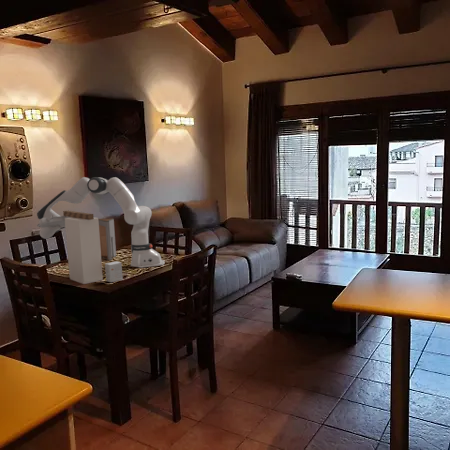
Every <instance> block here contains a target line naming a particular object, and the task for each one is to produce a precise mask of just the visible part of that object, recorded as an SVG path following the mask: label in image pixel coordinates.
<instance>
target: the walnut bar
mask: <svg viewBox="0 0 450 450" xmlns="http://www.w3.org/2000/svg"><path fill="white" fill-rule="evenodd" d="M62 216H67V217H73V218H80V219H86V220H92V219H94V213H88V212H82V211H81V212H80V211H74V210H73V211H72V210H64V211H63V215H62Z"/></svg>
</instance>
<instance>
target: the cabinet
mask: <svg viewBox="0 0 450 450" xmlns="http://www.w3.org/2000/svg"><path fill="white" fill-rule="evenodd" d="M114 220H115V219H114V218H98V222H99V235H100V248H101V259H104V260H107V261H110V262H111V261H113V259H114V258H116V257H117V252H116V251H117V248H116V233H115V221H114Z"/></svg>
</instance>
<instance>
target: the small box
mask: <svg viewBox="0 0 450 450" xmlns="http://www.w3.org/2000/svg"><path fill="white" fill-rule="evenodd" d="M104 265H105V266H104V267H105V279H106V280H105V281H106V282H109V283H113V282H114V283H115V282H119V281H123V280H124V278H123V269H122V268H123V267H122V262H120V261H117V260H116V261H112V262H111V261H110V262H106V263H104Z"/></svg>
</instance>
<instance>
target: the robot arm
mask: <svg viewBox="0 0 450 450" xmlns="http://www.w3.org/2000/svg"><path fill="white" fill-rule="evenodd" d="M90 193H92V194H97V195H107V194H111V196H112V197H113V198H114V200H115V201H116V202H117V204H118V205H119V206H120V208H121V210H122V212H123V214H124V218H123V219H124V221H125V223H127V224H128V225H132V230H131V232H130V234H131V235H130V237H131V244H130V246H131V247H130V249H131V260H130V261H131V262H130V267H136V268H149V267H151V268H152V267H158V266H163V265H165V260H164V259H162V256H161V254H160V253H159V252H158V251H156V250H155V249H153V244H152V243H149V227H150V221H151V220H150V219H151V218H152V214H153V212H152V209H151V208H150V207H149V206H146V205H138V204H137V202H136V200H135V195H134V194H133V193H132V191H130V189H129V188H128V186H127V185H126V184H125V183H124V182H123V181H122V180H121V179H119V178H118V177H116V176H115V177H110V178H109V179H107V178H103V177H98V176H94V177H91V178H89V177H85V176H83V177H81V178H80V179H79V180H78V181H76V183H75V184H73V186H72V187H71V188H70V189H68V190H62V191H61V192H59V193H58V194H57V195H55V196H54V197H53V198H52V199H50V201H48V202H47V203H46V204H45V205H44V206H42V207H40V208H39V209H38V211H37V212H36V216H37V219H38V220H39V221H38V224H37V225H36V226H37V227H38V228H40V230H39V236H40V237H41V238H42V239H44V240H47V239H50V238H52V237H53V236H54V234H55V233H59V232H60V231H61V230H63V229H66V228H65V218H70V217H67V216H64V215H60V214H58V213H57V212H56V211H54V209H52V208H53V207H54V206H55V205H57V204H58V203H59V202H68V203H70V204H75V205H77V204H81V203H82V202H84V201H85V199H86V198H87V197H88V196H89V194H90Z"/></svg>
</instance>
